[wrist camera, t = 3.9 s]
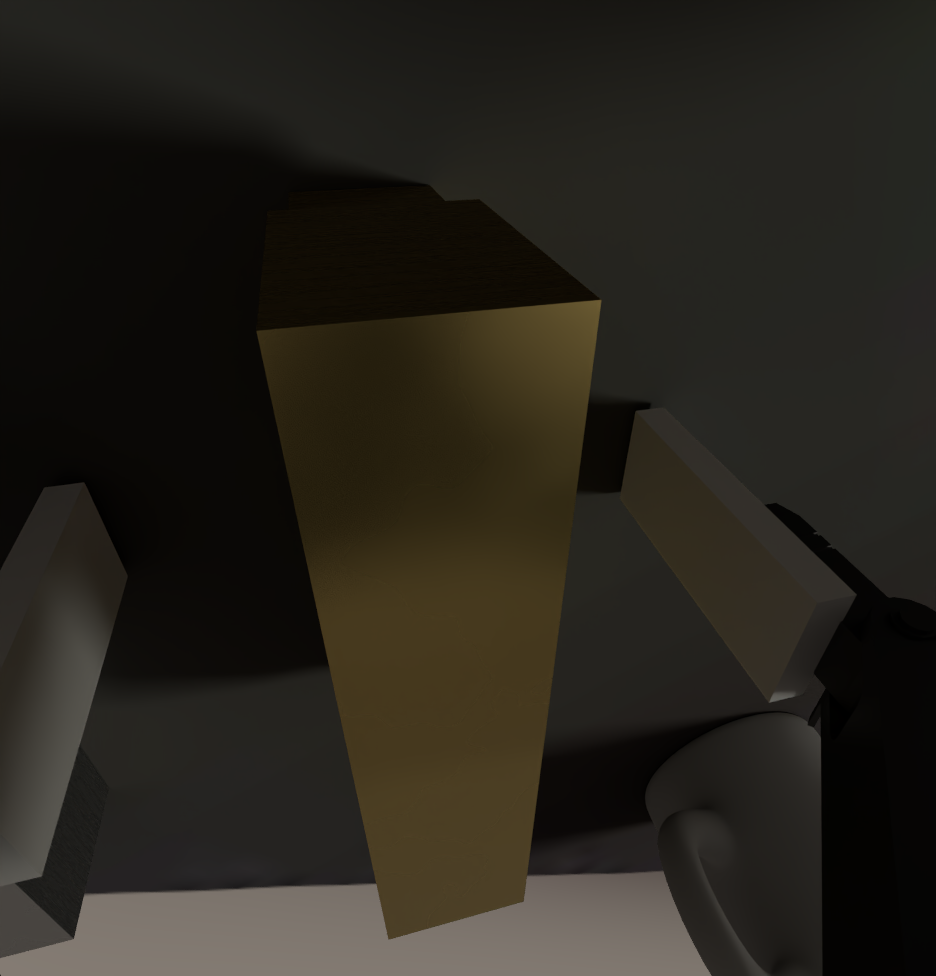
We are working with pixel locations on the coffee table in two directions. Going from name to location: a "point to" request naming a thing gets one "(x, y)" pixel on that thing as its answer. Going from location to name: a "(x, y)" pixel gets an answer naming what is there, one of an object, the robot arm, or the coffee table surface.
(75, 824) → the bracket
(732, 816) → the mug
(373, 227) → the yellow rectangular block
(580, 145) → the coffee table surface
